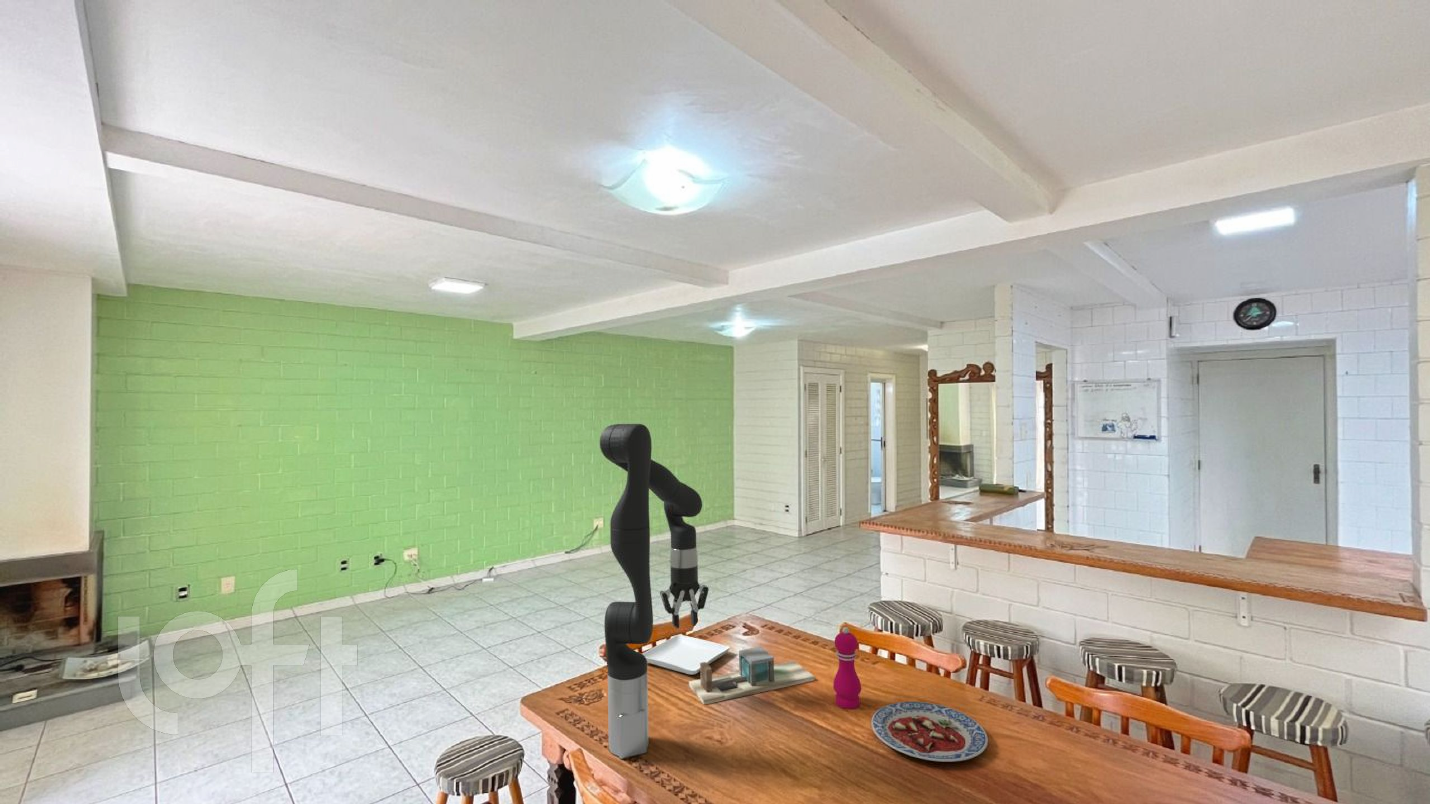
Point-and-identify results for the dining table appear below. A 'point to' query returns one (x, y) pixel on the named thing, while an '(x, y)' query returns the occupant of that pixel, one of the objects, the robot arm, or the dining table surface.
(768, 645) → the dining table surface
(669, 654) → the salad plate
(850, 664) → the pepper mill
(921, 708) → the ceramic plate
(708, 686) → the sled
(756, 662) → the deck tunnel
